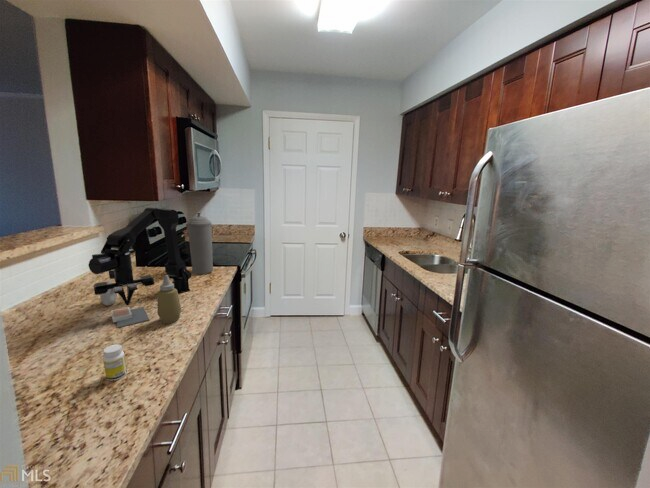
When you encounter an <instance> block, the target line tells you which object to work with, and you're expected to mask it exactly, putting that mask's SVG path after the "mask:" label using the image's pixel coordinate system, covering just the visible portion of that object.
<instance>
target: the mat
mask: <svg viewBox="0 0 650 488" xmlns="http://www.w3.org/2000/svg"><path fill="white" fill-rule="evenodd" d="M130 310H131V313H132V318H130V319H126V320H122V321H117V322H115V323H116V326H117V327H116V328H117V329H119V328H125V327H128V326H133V325H137V324H140V323H145V322H148V321H150V318H149V316H148V314H147V311H146V310H145V308H144V306H141V307H137V308H133V309H130Z"/></svg>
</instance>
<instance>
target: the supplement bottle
mask: <svg viewBox="0 0 650 488" xmlns="http://www.w3.org/2000/svg"><path fill="white" fill-rule="evenodd" d="M125 355H126V354H125V352H124V351H123V346H122V345H121V344H117V343H116V344H112V345H109V346H106V347H105V348H104V349H103V358H102V361H103V367H104V372H105V373H104V374H105V378H106V380H107V381H109V380H110V381H109V382H112V381H113V380H114V381H118V380H121V379H122V378H124V377H125V376H126V375H127V374H128V369H127V363H126V361H127V360H126V356H125ZM120 378H121V379H120ZM114 381H113V382H114Z"/></svg>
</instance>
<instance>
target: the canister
mask: <svg viewBox="0 0 650 488" xmlns="http://www.w3.org/2000/svg"><path fill="white" fill-rule="evenodd" d="M196 214H197V216H192V217H191V218H190V219H189V221H188V222H187V224H186V226H187V231H188V241H189V250H190V251H189V252H190V253H189V254H190V260H191V269H192V273H193V274H194V275H197V276H198V275H200V276H201V275H207V274H211V273H212V272H213V271H214V263H213V261H214V260H213V237H212V236H213V235H212V233H213V231H212V230H213V229H212V224H213V223H212V221H210V220H209V218H208V217H206V216H201V214H202V211H200V212H199V211H197V212H196Z"/></svg>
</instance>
